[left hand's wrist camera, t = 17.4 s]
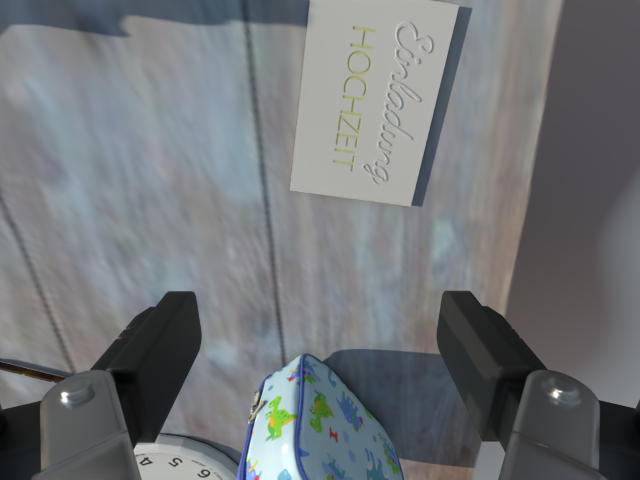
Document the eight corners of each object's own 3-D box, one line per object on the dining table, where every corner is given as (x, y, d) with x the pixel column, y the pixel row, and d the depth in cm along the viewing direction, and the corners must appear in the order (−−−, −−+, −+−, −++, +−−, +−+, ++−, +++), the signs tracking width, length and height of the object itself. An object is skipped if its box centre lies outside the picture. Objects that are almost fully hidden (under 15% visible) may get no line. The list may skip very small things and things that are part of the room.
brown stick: (-14, 360, 52) (-20, 364, 51) (-14, 357, 52) (-20, 362, 51) (89, 385, 54) (85, 390, 53) (89, 383, 54) (85, 388, 53)
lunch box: (249, 368, 53) (207, 525, 33) (305, 333, 50) (296, 480, 31) (347, 463, 60) (360, 636, 41) (400, 437, 58) (441, 607, 39)
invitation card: (311, -20, 34) (459, 4, 35) (312, -19, 35) (458, 5, 35) (289, 190, 42) (410, 206, 43) (290, 189, 42) (410, 205, 43)
